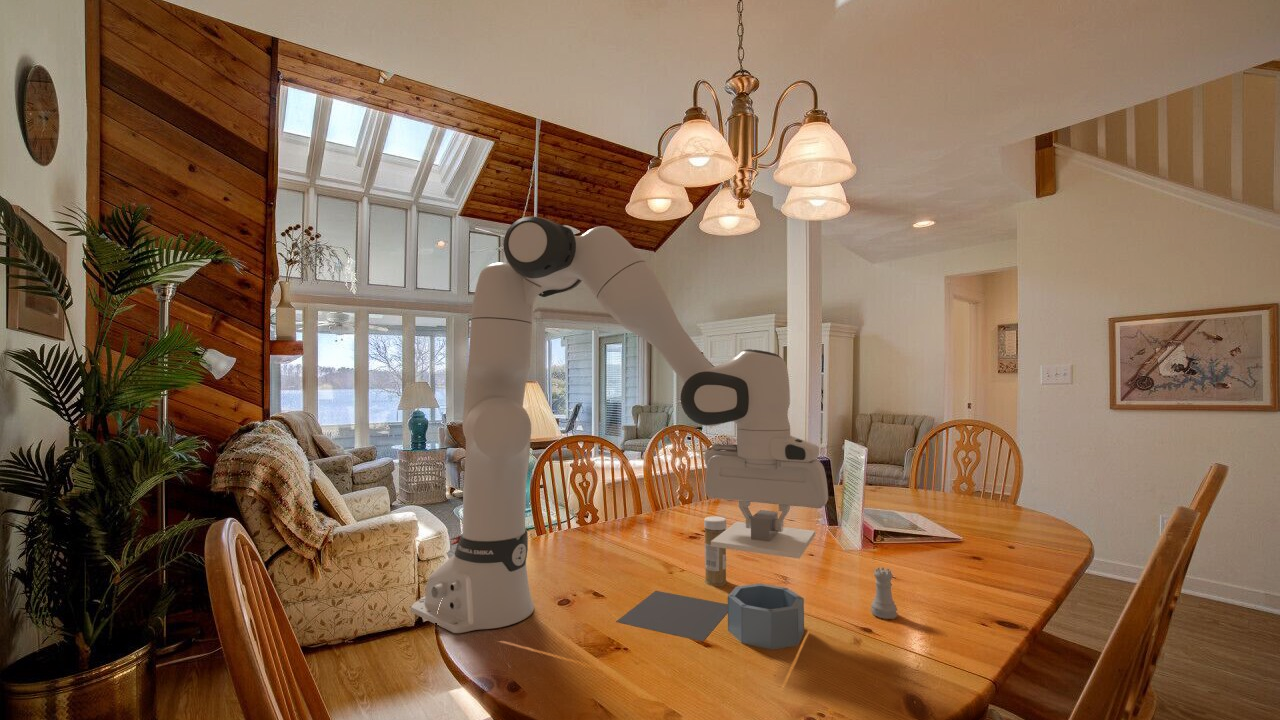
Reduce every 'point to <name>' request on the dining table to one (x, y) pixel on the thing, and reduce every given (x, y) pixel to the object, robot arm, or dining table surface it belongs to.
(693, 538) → the dining table surface
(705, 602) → the mat
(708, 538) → the sprinkles bottle
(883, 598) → the rook chess piece
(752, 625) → the bowl
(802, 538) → the lid
